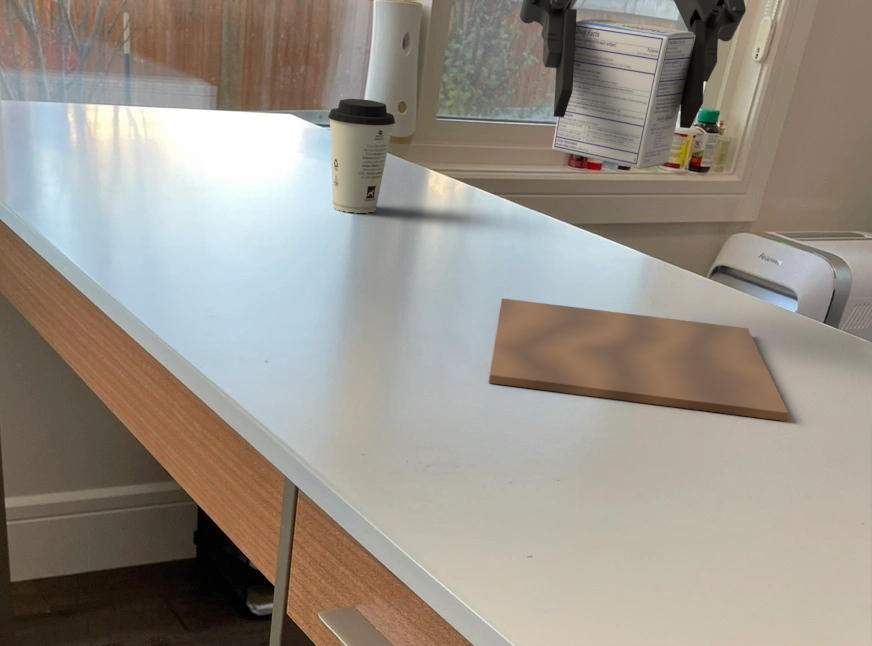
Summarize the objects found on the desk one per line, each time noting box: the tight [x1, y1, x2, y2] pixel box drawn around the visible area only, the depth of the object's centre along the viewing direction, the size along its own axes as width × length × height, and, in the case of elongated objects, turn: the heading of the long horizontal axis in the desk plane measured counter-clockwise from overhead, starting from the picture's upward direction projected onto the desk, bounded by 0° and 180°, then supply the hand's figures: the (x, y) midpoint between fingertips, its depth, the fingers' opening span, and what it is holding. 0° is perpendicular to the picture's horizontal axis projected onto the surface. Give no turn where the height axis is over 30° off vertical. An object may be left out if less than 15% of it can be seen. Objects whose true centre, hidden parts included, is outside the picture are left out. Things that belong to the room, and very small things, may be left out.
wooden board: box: [488, 298, 789, 422], centre depth 83 cm, size 20×20×1 cm
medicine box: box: [552, 18, 695, 170], centre depth 82 cm, size 8×4×9 cm, turn 47°
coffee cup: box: [327, 98, 396, 214], centre depth 116 cm, size 7×7×10 cm
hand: (627, 109), depth 80 cm, fingers closed on medicine box, 9 cm apart
